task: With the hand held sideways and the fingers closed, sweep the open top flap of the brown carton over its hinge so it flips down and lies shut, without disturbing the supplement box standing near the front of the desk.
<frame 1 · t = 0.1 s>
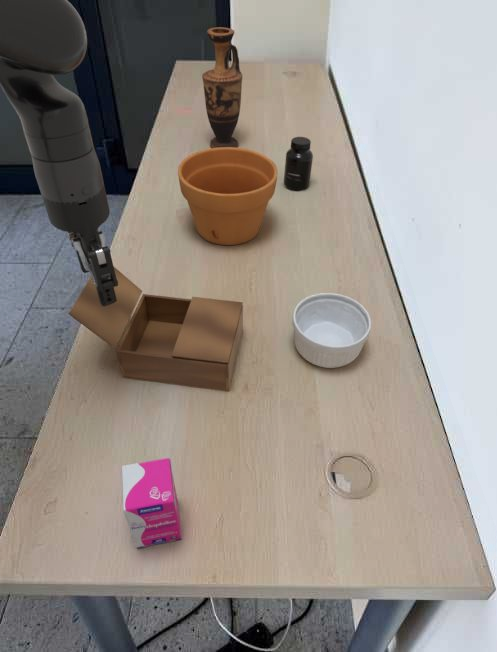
hand: (99, 286, 71), 17 cm above the table, tool pointing down, fingers open, 8 cm apart
flower pot: (229, 229, 113), on the table
ramekin: (326, 347, 87), on the table
vase: (224, 146, 144), on the table
carton: (185, 353, 85), on the table
supplement bottle: (296, 185, 128), on the table
flap: (108, 301, 79), point 10 cm above the table, hinge at 131.7°
supplement box: (158, 524, 64), on the table
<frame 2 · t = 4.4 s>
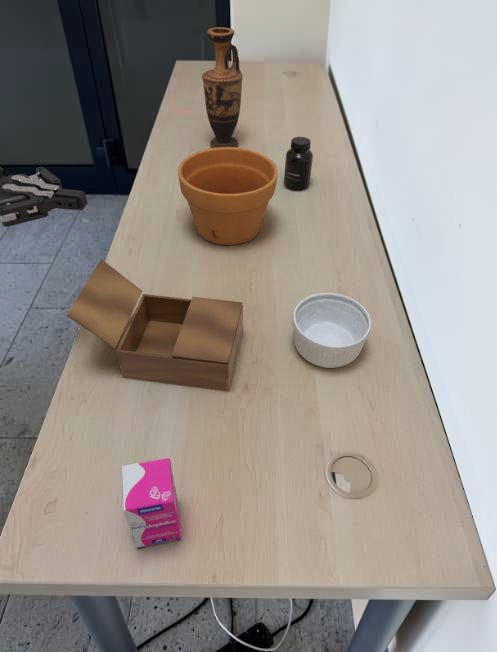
hand: (84, 201, 67), 28 cm above the table, tool horizontal, fingers closed
flap: (107, 302, 79), point 10 cm above the table, hinge at 135.1°
everything else where it was.
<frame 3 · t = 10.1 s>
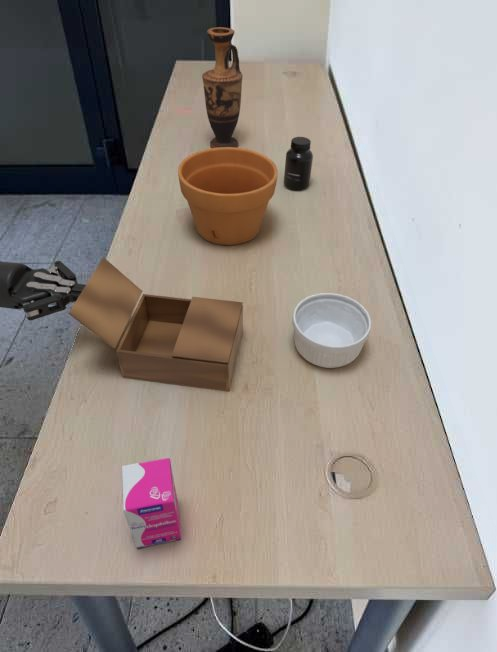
hand: (96, 295, 78), 11 cm above the table, tool horizontal, fingers closed
flap: (108, 301, 79), point 10 cm above the table, hinge at 131.1°, touching gripper
everything else where it was.
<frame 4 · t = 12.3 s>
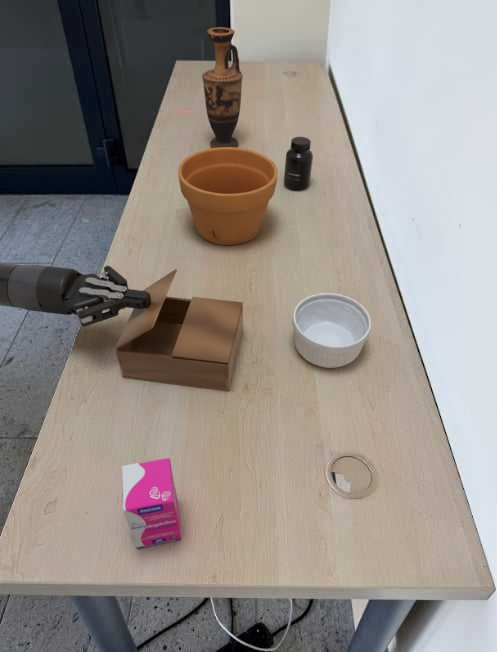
hand: (149, 300, 77), 12 cm above the table, tool horizontal, fingers closed
flap: (147, 307, 78), point 10 cm above the table, hinge at 40.7°
everything else where it was.
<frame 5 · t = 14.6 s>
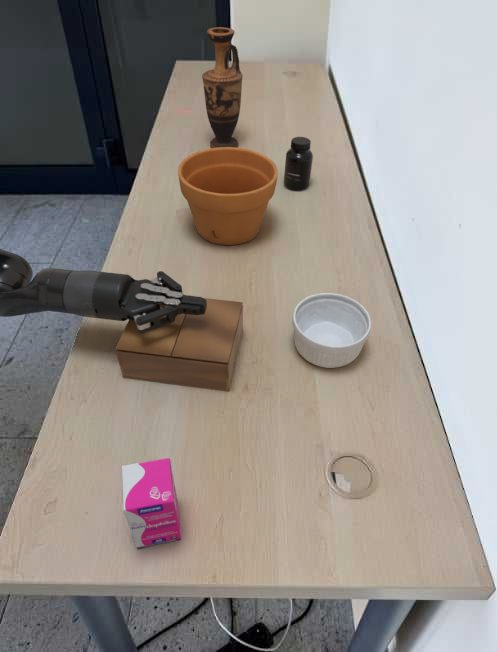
hand: (205, 306, 76), 12 cm above the table, tool horizontal, fingers closed
flap: (155, 321, 80), point 7 cm above the table, hinge at -0.3°
everything else where it was.
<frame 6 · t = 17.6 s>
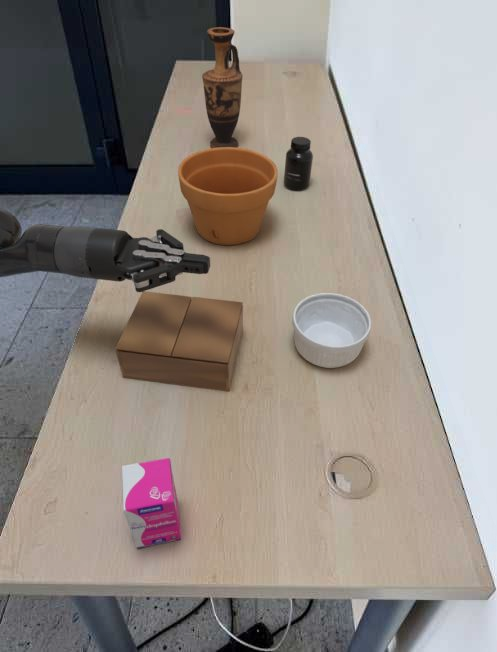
hand: (208, 265, 70), 20 cm above the table, tool horizontal, fingers closed
nothing on the table moved.
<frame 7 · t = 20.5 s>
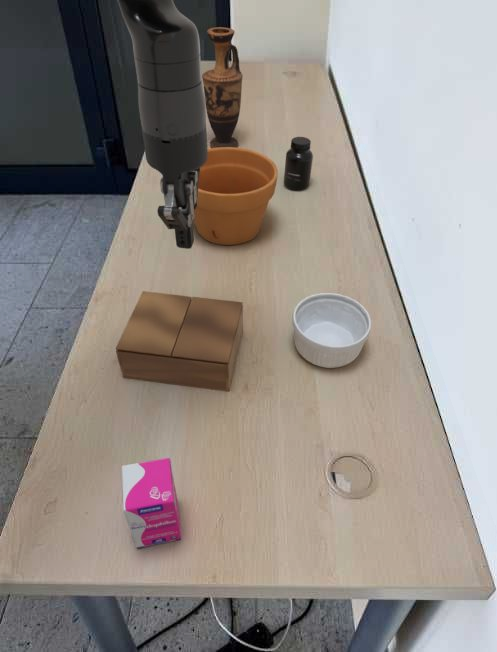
hand: (185, 245, 69), 23 cm above the table, tool pointing down, fingers closed
nothing on the table moved.
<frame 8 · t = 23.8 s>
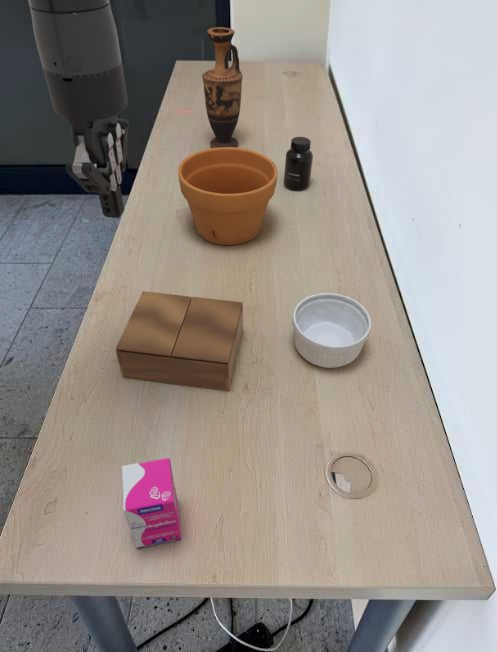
hand: (114, 214, 59), 31 cm above the table, tool pointing down, fingers closed
nothing on the table moved.
at the end: flap at +0° (first picture: +131°); supplement box moved 0.2 cm from its start; supplement box tilted 0° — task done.
